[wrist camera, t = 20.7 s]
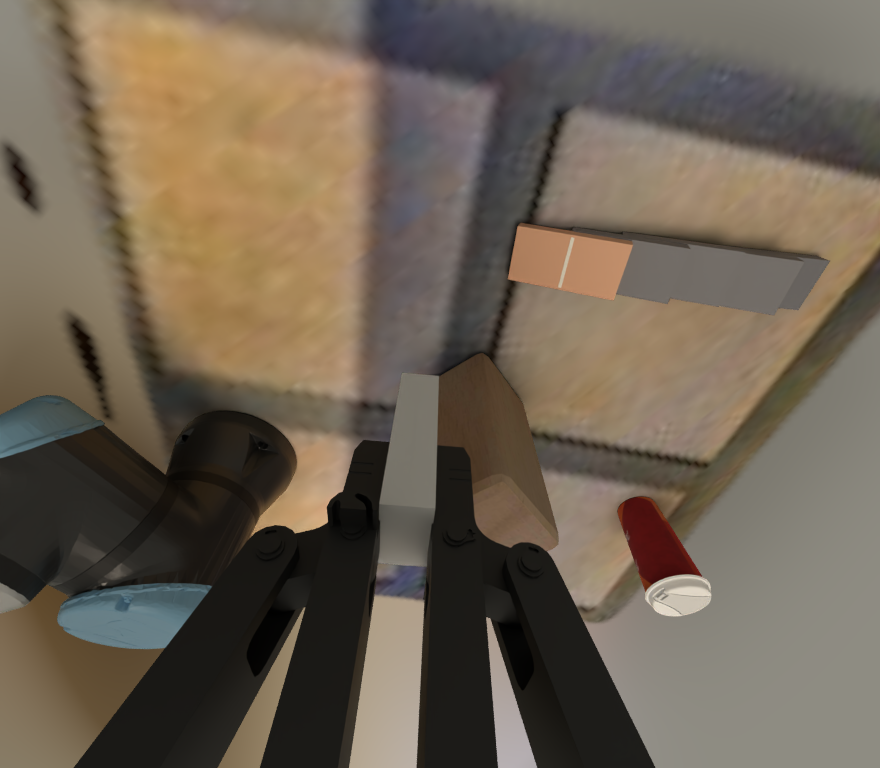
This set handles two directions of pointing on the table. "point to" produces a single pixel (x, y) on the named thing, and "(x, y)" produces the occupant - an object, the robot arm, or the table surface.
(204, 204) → the table surface
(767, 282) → the domino
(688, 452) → the table surface
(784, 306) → the domino
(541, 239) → the head domino
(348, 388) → the table surface
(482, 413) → the wooden block
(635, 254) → the domino
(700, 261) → the domino
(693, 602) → the paper cup
